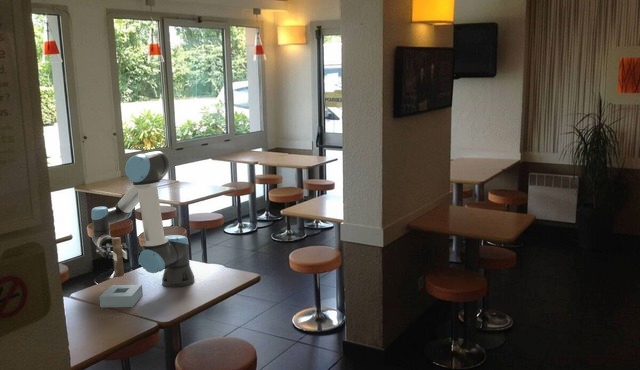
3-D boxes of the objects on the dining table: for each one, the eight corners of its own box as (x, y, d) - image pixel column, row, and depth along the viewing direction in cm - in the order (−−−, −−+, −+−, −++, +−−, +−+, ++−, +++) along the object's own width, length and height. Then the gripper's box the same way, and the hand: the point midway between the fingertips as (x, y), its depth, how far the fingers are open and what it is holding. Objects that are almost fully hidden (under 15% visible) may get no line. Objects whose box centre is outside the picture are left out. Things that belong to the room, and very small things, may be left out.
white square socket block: (142, 294, 263) (141, 284, 262) (132, 307, 249) (131, 296, 248) (112, 295, 263) (111, 284, 262) (100, 307, 249) (99, 296, 248)
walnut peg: (125, 274, 255) (121, 237, 252) (122, 276, 252) (118, 239, 249) (117, 274, 255) (113, 237, 252) (114, 276, 252) (110, 239, 249)
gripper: (126, 248, 272) (141, 261, 252) (89, 255, 263) (101, 269, 243) (124, 233, 270) (139, 245, 251) (87, 239, 261) (100, 252, 242)
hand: (121, 256), depth 247 cm, fingers closed on walnut peg, 3 cm apart
